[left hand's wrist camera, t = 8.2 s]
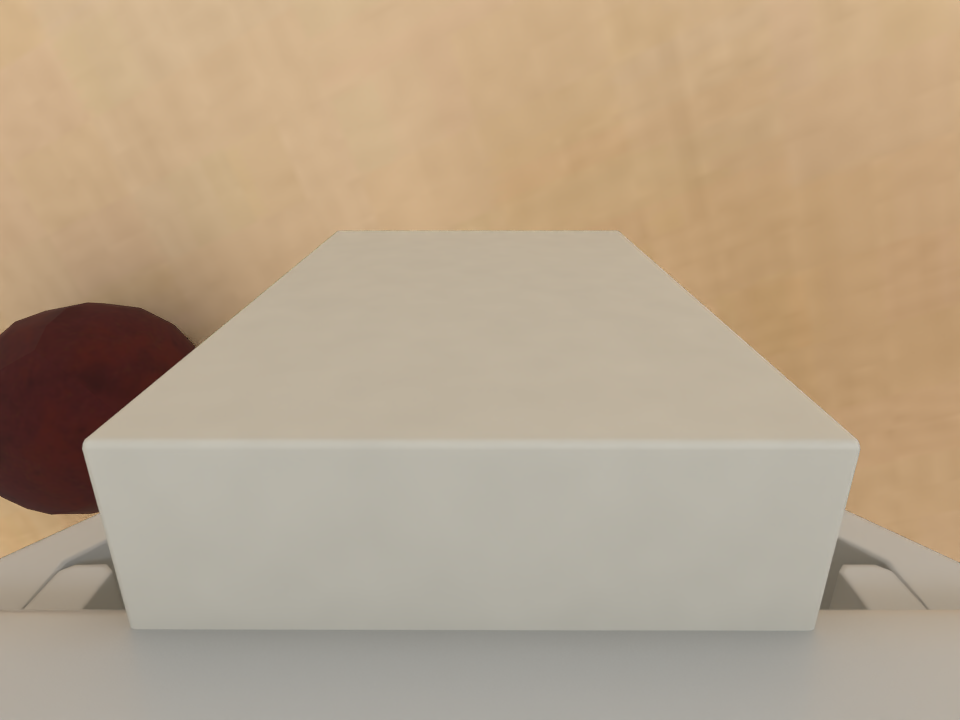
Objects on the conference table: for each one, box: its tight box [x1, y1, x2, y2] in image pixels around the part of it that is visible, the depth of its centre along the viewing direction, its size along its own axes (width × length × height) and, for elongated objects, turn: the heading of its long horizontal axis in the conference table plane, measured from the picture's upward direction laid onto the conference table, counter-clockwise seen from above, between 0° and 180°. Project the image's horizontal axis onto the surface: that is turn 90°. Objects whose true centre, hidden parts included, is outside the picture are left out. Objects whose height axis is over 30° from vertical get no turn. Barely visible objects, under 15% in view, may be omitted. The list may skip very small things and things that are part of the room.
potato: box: [0, 303, 195, 514], centre depth 22 cm, size 7×8×7 cm
